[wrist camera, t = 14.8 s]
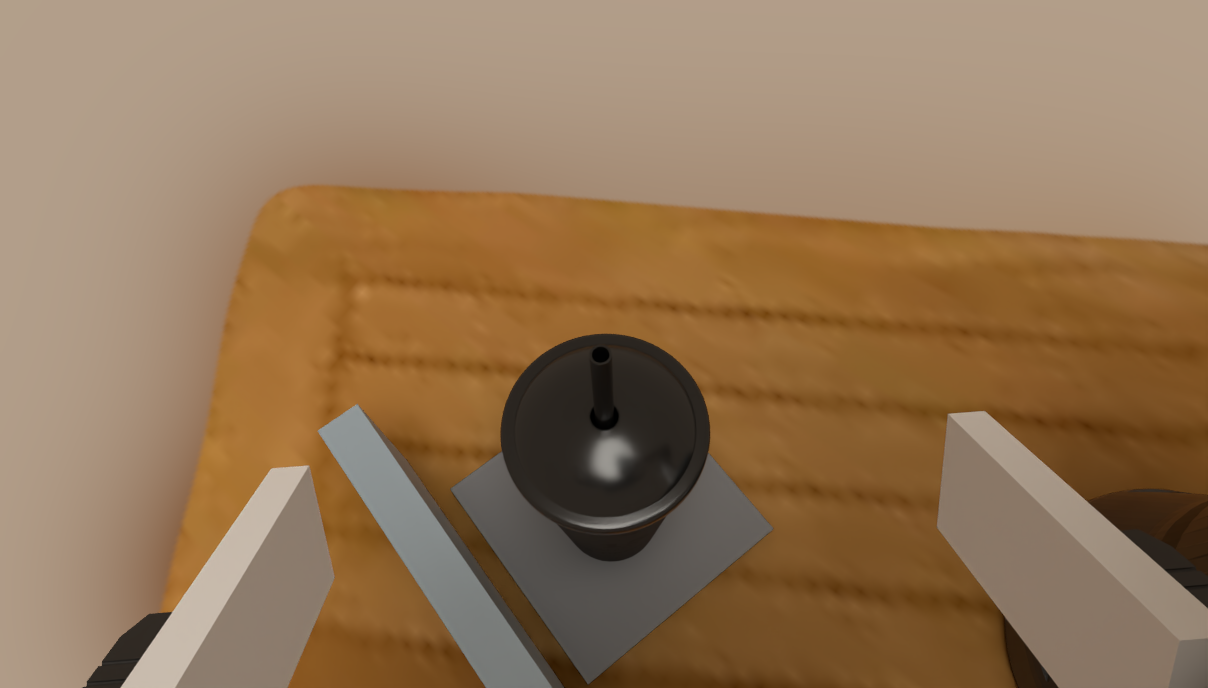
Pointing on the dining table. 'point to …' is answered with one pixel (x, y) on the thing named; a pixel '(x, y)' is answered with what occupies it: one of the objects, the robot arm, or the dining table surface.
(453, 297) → the dining table surface
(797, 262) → the dining table surface
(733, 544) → the rubber mat
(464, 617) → the low wall
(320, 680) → the dining table surface
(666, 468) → the drinking cup
